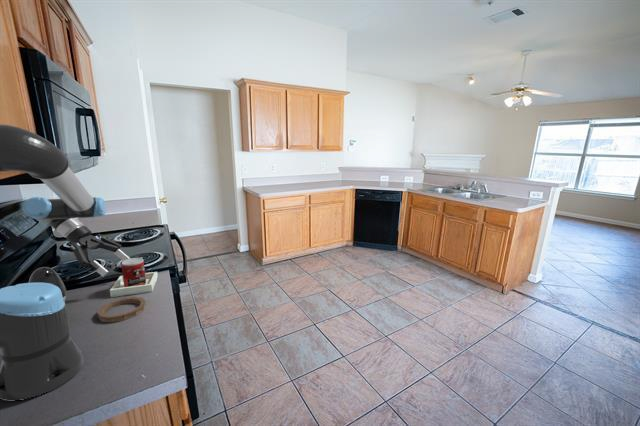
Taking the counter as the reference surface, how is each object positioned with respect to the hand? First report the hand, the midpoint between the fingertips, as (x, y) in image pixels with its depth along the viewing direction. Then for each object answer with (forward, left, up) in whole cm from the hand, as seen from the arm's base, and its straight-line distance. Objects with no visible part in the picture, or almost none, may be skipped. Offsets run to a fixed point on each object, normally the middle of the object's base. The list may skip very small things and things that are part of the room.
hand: (117, 267), depth 114 cm
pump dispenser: (-11, +19, -9) cm, 23 cm away
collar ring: (-23, -6, -9) cm, 25 cm away
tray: (-3, -6, -9) cm, 11 cm away
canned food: (-3, -6, -8) cm, 11 cm away
